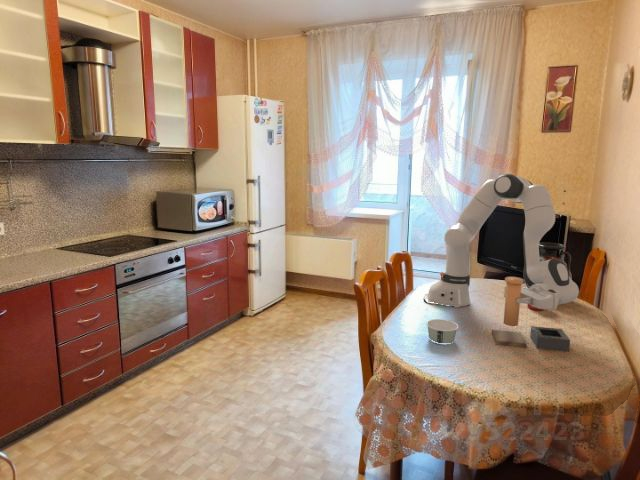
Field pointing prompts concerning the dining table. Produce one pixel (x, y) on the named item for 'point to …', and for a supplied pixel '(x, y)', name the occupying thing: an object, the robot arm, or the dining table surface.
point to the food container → (442, 330)
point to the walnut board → (509, 338)
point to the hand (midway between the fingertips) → (510, 298)
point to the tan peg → (512, 300)
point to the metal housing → (549, 338)
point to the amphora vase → (552, 254)
